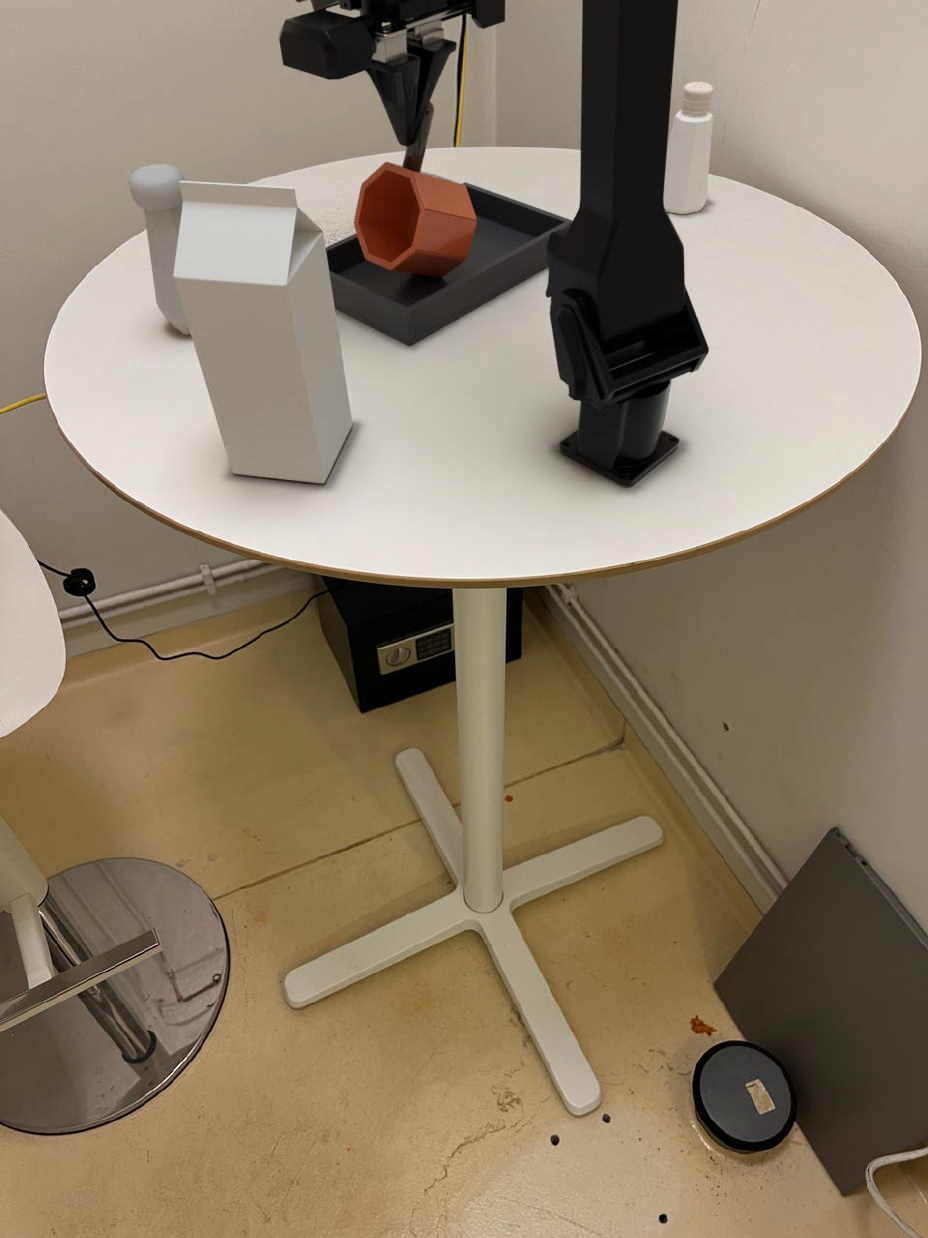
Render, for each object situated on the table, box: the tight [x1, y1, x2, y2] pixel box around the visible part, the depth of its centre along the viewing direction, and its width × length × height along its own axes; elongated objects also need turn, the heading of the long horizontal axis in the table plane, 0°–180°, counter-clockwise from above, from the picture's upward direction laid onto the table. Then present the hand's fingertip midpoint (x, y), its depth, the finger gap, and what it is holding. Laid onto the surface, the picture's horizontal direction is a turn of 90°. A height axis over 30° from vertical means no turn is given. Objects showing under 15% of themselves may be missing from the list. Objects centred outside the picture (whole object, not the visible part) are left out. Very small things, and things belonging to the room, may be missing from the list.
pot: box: [353, 100, 477, 277], centre depth 74 cm, size 13×8×7 cm
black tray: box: [325, 181, 574, 346], centre depth 79 cm, size 22×14×3 cm, turn 137°
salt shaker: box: [128, 163, 191, 336], centre depth 71 cm, size 6×6×13 cm
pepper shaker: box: [664, 81, 714, 215], centre depth 85 cm, size 5×5×11 cm
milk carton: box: [173, 180, 353, 484], centre depth 56 cm, size 7×7×19 cm
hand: (406, 144), depth 70 cm, fingers closed
